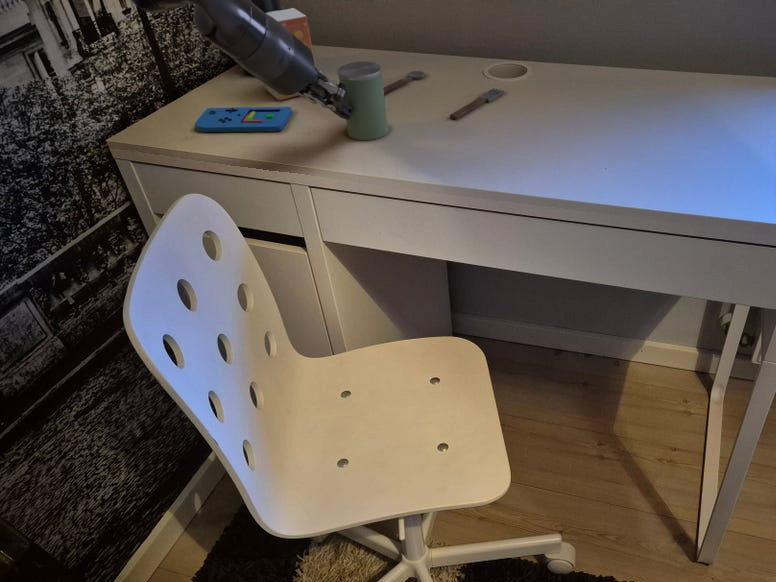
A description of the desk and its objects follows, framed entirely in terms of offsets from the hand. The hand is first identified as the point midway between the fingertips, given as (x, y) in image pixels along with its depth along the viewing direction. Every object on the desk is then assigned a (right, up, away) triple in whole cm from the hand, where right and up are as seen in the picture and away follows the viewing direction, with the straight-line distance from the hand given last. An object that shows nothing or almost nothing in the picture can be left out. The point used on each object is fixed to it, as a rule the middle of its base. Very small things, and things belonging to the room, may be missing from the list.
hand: (348, 113), depth 104 cm
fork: (+20, +6, +12) cm, 24 cm away
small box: (-14, +11, +20) cm, 26 cm away
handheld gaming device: (-20, +2, +10) cm, 22 cm away
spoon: (+5, +13, +20) cm, 24 cm away
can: (+2, -1, +5) cm, 6 cm away
